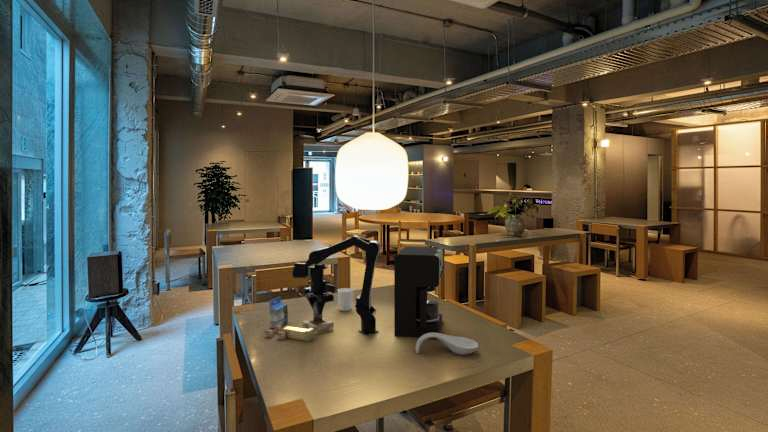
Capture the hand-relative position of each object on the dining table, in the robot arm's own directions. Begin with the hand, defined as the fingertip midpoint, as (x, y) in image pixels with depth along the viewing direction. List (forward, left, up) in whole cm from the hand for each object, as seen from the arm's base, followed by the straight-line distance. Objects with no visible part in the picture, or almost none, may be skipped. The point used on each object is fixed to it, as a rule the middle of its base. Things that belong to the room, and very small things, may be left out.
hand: (317, 313), depth 176 cm
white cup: (+18, -26, -7) cm, 32 cm away
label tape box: (+16, +11, -7) cm, 21 cm away
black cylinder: (0, 0, -3) cm, 3 cm away
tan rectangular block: (-4, +11, -7) cm, 14 cm away
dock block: (0, 0, -7) cm, 7 cm away
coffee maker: (-28, -35, -7) cm, 45 cm away
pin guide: (+4, +16, -7) cm, 18 cm away
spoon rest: (-52, -27, -8) cm, 59 cm away
